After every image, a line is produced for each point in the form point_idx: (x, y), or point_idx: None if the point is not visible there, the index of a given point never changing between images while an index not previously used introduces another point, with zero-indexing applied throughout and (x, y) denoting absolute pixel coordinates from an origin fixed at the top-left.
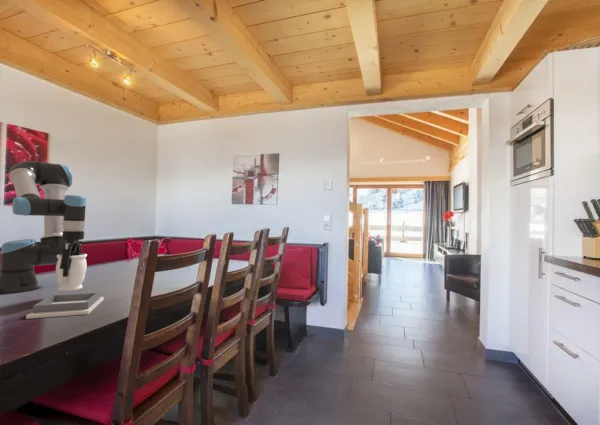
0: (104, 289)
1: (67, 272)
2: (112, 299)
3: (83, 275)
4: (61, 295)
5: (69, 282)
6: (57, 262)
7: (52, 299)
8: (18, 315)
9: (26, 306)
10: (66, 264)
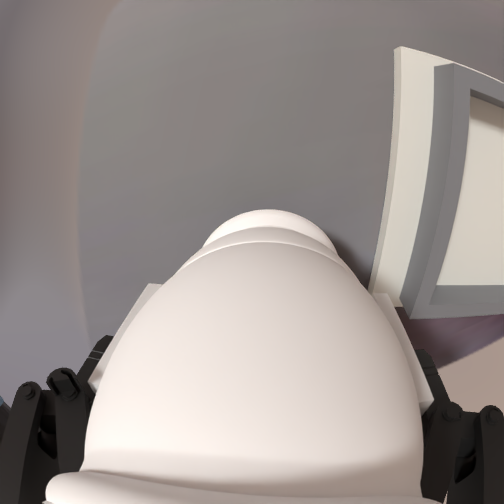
0: (98, 115)
1: (434, 378)
2: (400, 7)
3: (298, 248)
4: (438, 275)
5: (389, 302)
6: None
7: (443, 295)
8: (485, 329)
9: None
10: (499, 440)
